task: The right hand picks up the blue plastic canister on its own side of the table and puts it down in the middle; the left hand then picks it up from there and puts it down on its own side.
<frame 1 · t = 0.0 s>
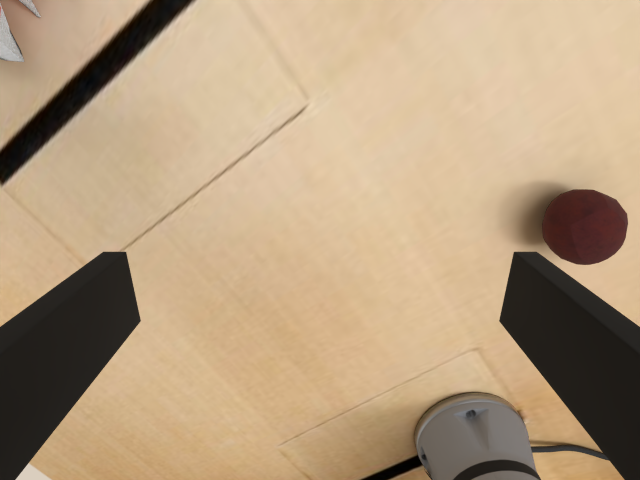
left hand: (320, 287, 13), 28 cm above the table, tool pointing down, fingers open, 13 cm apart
dark red ball: (561, 214, 41), on the table
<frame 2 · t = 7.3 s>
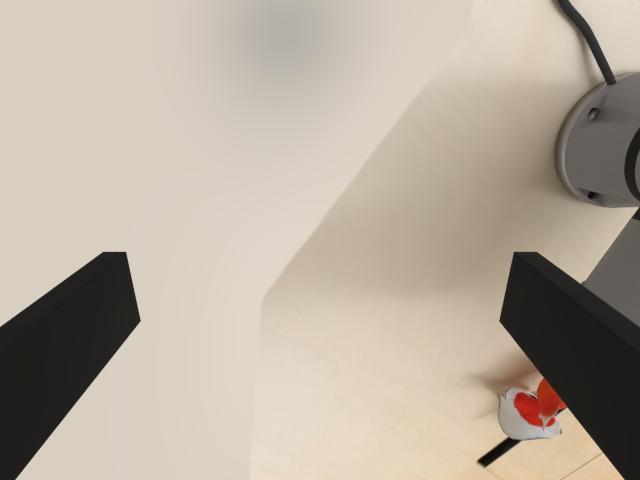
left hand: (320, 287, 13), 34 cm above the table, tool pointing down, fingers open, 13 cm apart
fish: (526, 384, 58), on the table
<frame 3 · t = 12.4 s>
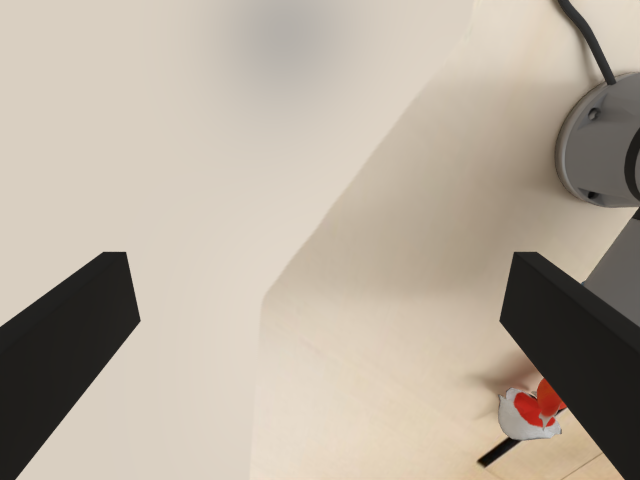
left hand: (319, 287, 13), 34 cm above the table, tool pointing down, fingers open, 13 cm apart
fish: (526, 384, 58), on the table
when the right hand's fingers open (4 cm above the table, at t = 17.8 s): canister drops 2 cm, on the table.
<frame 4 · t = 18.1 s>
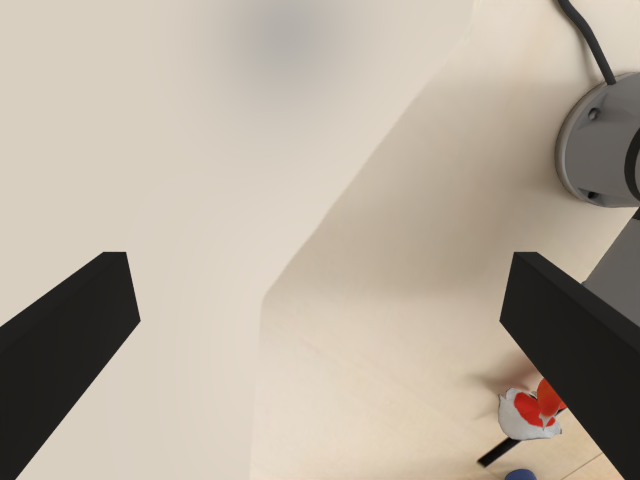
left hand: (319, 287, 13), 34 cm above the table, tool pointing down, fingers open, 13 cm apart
fish: (526, 384, 58), on the table
canister: (519, 479, 66), on the table
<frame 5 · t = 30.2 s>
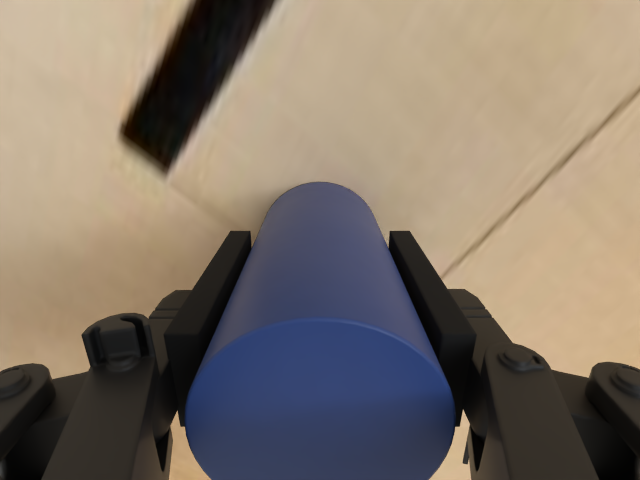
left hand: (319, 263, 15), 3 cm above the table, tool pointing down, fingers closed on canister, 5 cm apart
canister: (319, 238, 17), on the table, touching left hand
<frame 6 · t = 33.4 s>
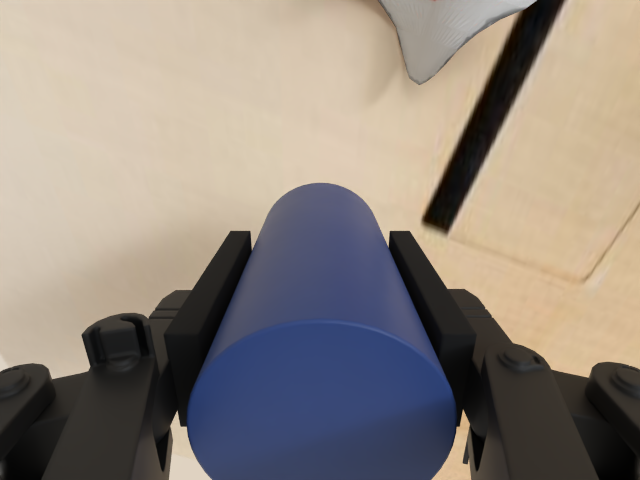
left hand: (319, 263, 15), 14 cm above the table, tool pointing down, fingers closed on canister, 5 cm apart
canister: (320, 239, 17), point 12 cm above the table, touching left hand
when the left hand's fingers open (4 cm above the table, at t = 36.8 s): canister drops 1 cm, on the table.
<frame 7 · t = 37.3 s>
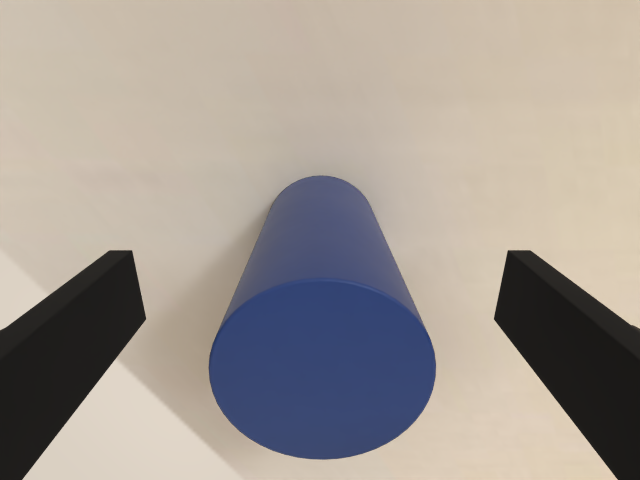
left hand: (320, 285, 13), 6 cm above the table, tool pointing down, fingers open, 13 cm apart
canister: (321, 228, 18), on the table
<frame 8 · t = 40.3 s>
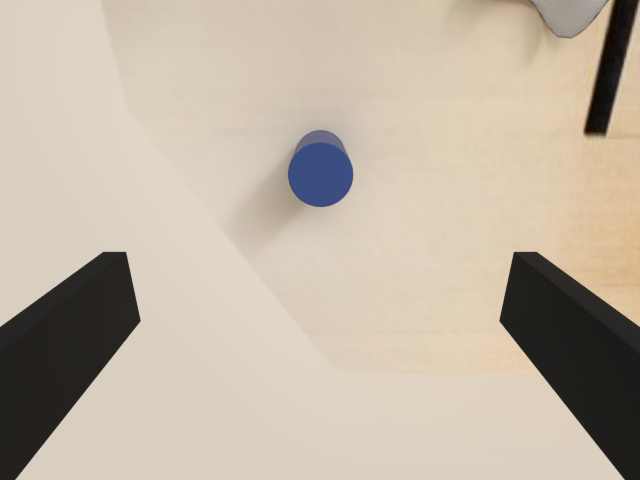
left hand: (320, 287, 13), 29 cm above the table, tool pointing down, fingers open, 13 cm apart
canister: (320, 155, 40), on the table
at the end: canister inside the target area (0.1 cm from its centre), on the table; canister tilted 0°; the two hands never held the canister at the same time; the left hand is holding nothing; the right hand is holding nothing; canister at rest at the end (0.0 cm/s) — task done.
